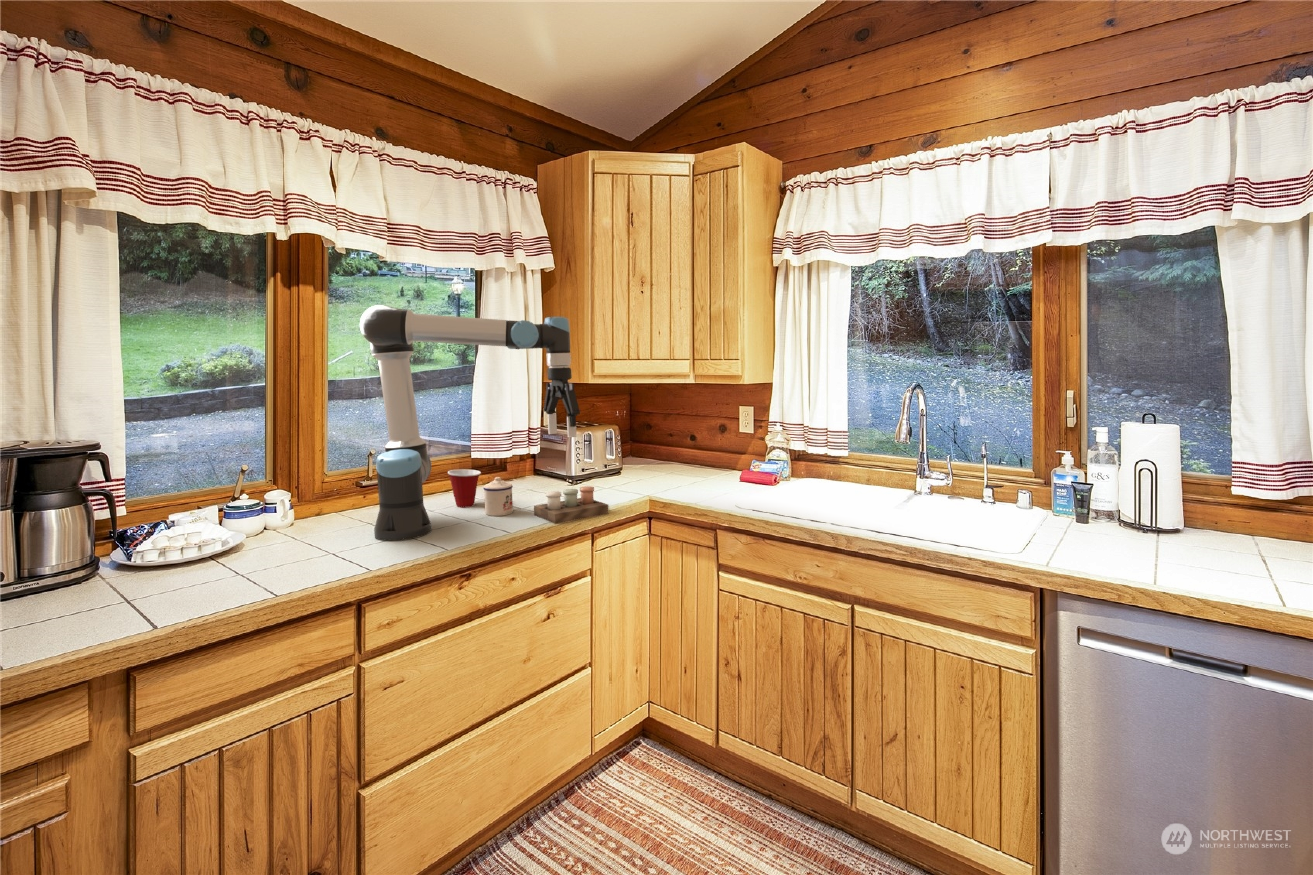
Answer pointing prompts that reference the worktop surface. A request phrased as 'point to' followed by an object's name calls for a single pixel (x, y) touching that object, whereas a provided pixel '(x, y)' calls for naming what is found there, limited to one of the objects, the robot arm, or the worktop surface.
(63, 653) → the worktop surface
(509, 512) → the teacup with lid
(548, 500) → the cream button
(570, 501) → the sage button
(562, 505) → the button board
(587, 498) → the pink short cylinder
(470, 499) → the plastic cup
